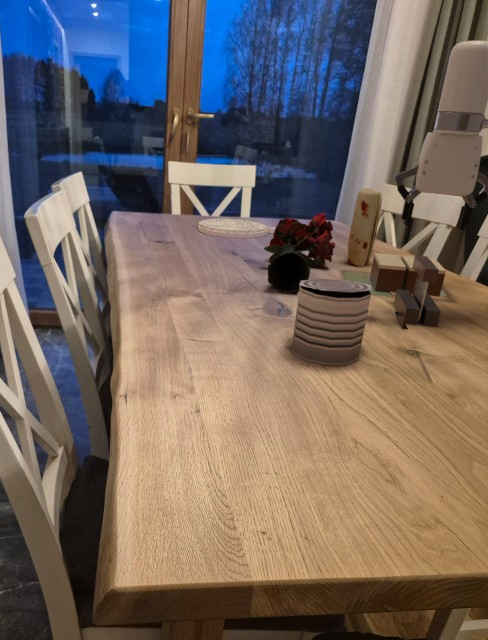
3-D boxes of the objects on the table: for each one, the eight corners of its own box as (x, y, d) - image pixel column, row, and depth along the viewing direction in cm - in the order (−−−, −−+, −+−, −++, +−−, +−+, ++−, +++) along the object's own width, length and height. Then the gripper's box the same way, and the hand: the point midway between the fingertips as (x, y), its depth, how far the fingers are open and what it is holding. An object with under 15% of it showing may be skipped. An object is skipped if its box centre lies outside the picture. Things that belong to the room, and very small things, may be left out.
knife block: (392, 307, 122) (396, 289, 120) (423, 310, 121) (427, 292, 119) (402, 328, 109) (406, 308, 107) (436, 332, 108) (441, 311, 106)
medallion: (191, 224, 203) (192, 217, 202) (264, 226, 208) (265, 219, 207) (205, 237, 182) (206, 230, 181) (286, 238, 187) (287, 231, 186)
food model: (342, 261, 161) (355, 185, 152) (366, 263, 160) (380, 187, 151) (345, 269, 152) (359, 189, 143) (371, 271, 151) (387, 191, 142)
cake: (428, 282, 139) (434, 258, 137) (439, 297, 128) (446, 270, 125) (396, 279, 141) (401, 255, 138) (404, 293, 129) (410, 267, 126)
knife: (402, 310, 120) (414, 255, 115) (414, 311, 120) (427, 256, 115) (411, 328, 110) (425, 268, 105) (424, 329, 109) (439, 269, 104)
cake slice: (393, 279, 141) (398, 255, 138) (400, 293, 129) (406, 266, 127) (369, 277, 142) (374, 252, 139) (374, 291, 130) (380, 264, 127)
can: (290, 362, 91) (300, 288, 86) (289, 338, 101) (298, 270, 96) (364, 369, 90) (379, 294, 84) (355, 344, 100) (367, 276, 95)
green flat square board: (434, 283, 143) (434, 280, 142) (451, 306, 125) (452, 302, 125) (343, 275, 146) (344, 271, 146) (348, 295, 128) (348, 292, 128)
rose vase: (288, 326, 131) (286, 280, 161) (360, 280, 124) (345, 240, 154) (248, 271, 126) (254, 234, 156) (320, 220, 119) (312, 191, 149)
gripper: (504, 128, 102) (476, 228, 109) (402, 122, 104) (383, 219, 112) (517, 128, 95) (487, 234, 102) (409, 121, 97) (387, 225, 105)
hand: (433, 226), depth 107 cm, fingers open, 9 cm apart
